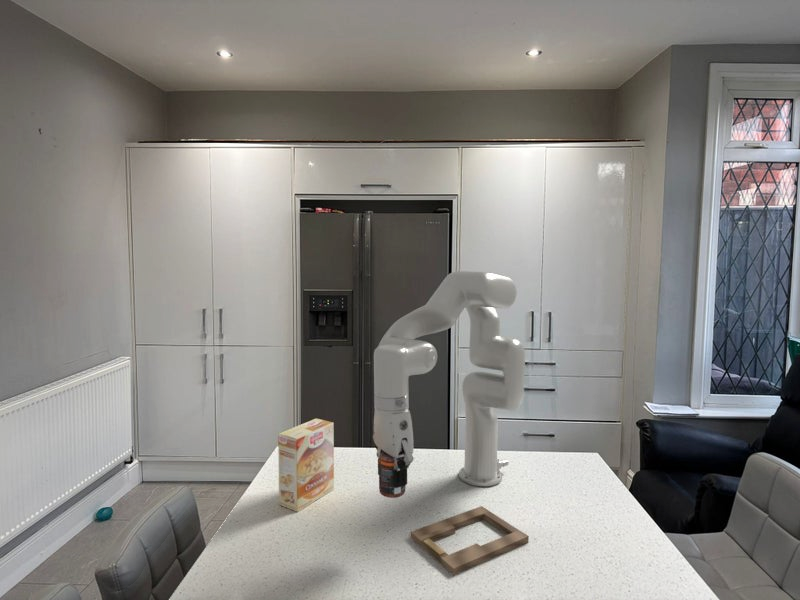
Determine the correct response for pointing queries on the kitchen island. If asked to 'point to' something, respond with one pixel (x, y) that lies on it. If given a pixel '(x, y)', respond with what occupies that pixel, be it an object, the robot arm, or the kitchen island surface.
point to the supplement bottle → (388, 476)
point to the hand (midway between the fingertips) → (392, 479)
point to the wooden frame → (472, 553)
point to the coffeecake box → (306, 463)
